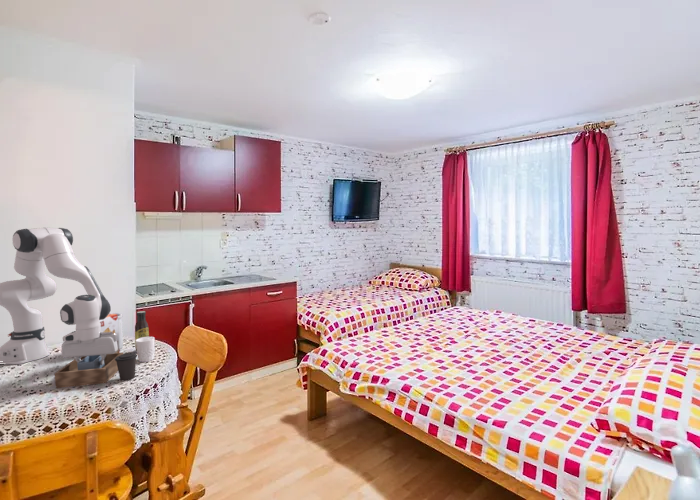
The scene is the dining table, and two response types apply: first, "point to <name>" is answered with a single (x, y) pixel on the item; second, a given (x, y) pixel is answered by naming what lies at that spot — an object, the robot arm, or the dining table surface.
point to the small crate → (90, 363)
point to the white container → (119, 329)
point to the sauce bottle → (141, 326)
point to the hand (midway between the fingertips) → (91, 365)
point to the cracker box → (111, 326)
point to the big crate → (86, 373)
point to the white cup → (145, 349)
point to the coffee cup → (126, 366)
